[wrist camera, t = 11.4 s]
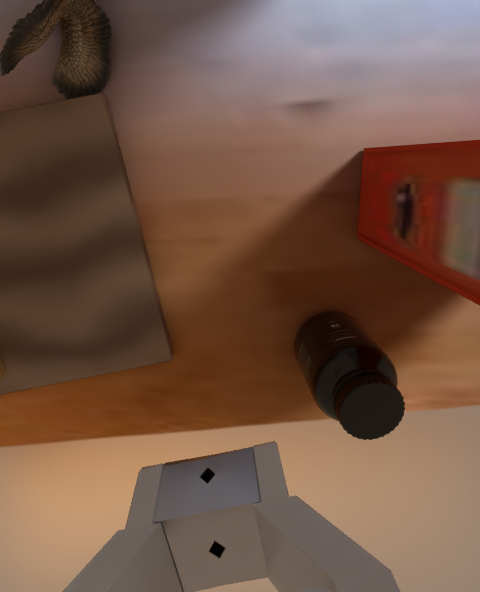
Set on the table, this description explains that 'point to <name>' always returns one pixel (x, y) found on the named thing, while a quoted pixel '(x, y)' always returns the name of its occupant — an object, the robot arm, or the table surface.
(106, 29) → the eagle figurine
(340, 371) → the supplement bottle
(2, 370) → the brass link
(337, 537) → the robot arm
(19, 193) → the walnut base plate
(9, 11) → the table surface
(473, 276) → the file binder
